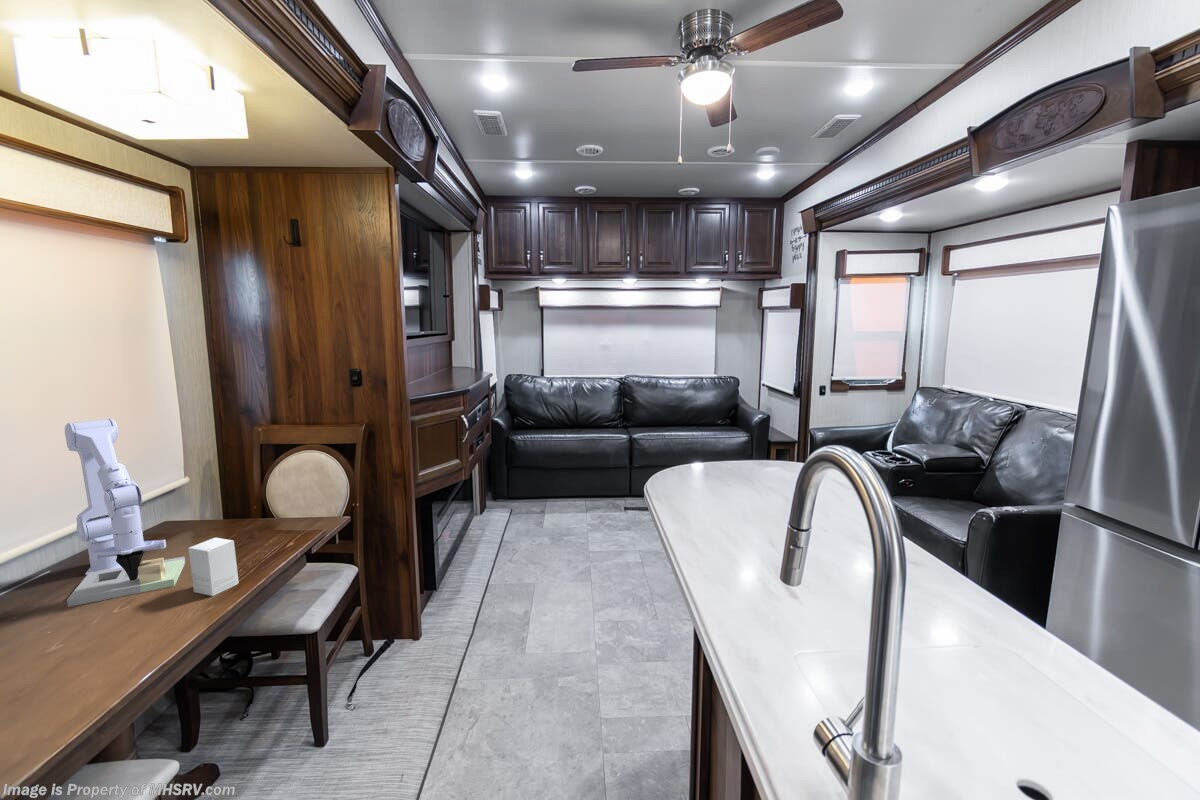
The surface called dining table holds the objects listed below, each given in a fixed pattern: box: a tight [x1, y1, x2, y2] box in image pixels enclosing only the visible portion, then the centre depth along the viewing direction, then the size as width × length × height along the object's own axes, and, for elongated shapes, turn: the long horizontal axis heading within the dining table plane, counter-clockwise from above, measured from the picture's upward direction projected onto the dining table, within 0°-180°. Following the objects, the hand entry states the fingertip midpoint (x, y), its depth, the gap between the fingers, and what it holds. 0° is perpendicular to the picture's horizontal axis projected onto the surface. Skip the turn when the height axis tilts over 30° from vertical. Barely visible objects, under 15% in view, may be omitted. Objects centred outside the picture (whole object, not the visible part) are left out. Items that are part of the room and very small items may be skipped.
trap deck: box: [66, 556, 186, 608], centre depth 141 cm, size 16×21×2 cm
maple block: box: [138, 557, 165, 584], centre depth 139 cm, size 4×4×4 cm
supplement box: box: [188, 537, 239, 597], centre depth 138 cm, size 7×7×13 cm
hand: (134, 578), depth 138 cm, fingers closed
